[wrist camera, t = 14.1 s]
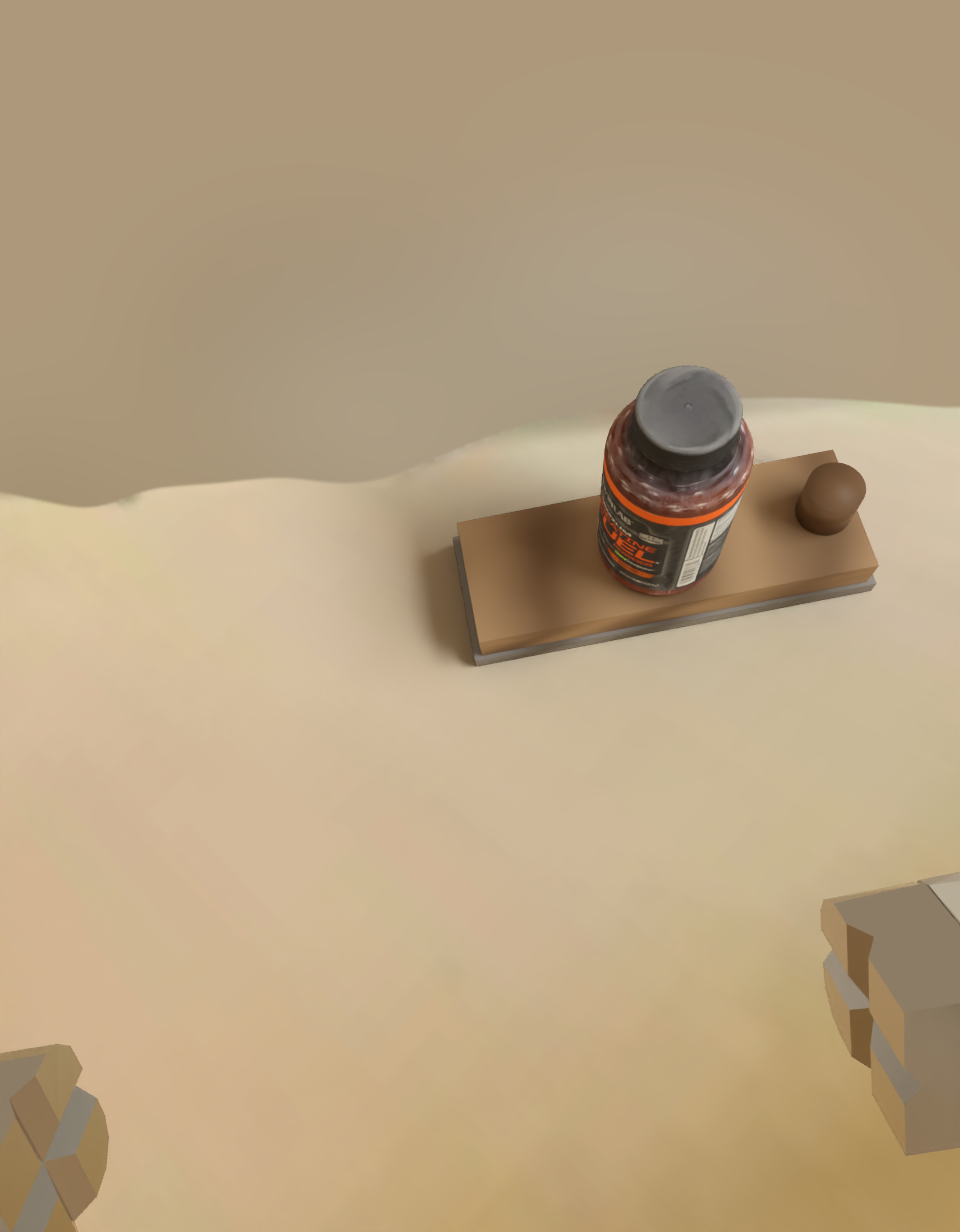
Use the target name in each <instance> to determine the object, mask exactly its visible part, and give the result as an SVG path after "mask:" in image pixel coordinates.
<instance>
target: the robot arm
mask: <svg viewBox="0 0 960 1232" xmlns="http://www.w3.org/2000/svg"><path fill="white" fill-rule="evenodd" d="M821 930H822V932H823V934H824V935H825V937H826V939H827V940H828V942H829V944H830V946H831V947H832V951H831V952H830V954H829V955H828V956H827V958H826V959H825V961H824V962H823V968H824V979H825V989H826V993H827V997H828V1001H829V1004H830V1008H831V1012H832V1016H833V1018H834V1021H835V1023H836V1025H837V1028H838V1030H839V1033H840V1035H841V1037H842V1039H843V1041H844V1043H845V1045H846V1047H847V1049H848V1051H849V1053H850V1054H851V1056H852V1057H853V1058H855V1059H856V1060H858V1061H859V1062H861V1063H863V1064H864V1065H866V1066H867V1067H869V1068H871V1077H872V1095H873V1097H874V1099H875V1101H876V1103H877V1104H878V1106H879V1108H880V1110H881V1112H882V1114H883V1115H884V1117H885V1119H886V1121H887V1123H888V1124H889V1126H890V1128H891V1130H892V1132H893V1134H894V1135H895V1137H896V1139H897V1141H898V1143H899V1144H900V1146H901V1148H902V1150H903V1152H904V1154H905V1155H906V1156H908V1155H915V1154H921V1153H928V1152H934V1151H941V1150H948V1149H954V1148H960V872H957V873H953V874H948V875H943V876H938V877H933V878H928V879H923V880H918V881H917V883H916V882H911V883H906V884H901V885H896V886H891V887H886V888H880V889H875V890H870V891H865V892H860V893H855V894H850V895H845V896H840V897H835V898H830V899H825V900H823V903H822V907H821ZM81 1071H82V1066H81V1065H80V1063H79V1061H78V1059H77V1057H76V1055H75V1054H74V1052H73V1050H72V1048H71V1046H67V1045H61V1044H54V1045H48V1046H42V1047H36V1048H30V1049H24V1050H17V1051H11V1052H5V1053H0V1232H78V1230H77V1228H76V1225H75V1222H74V1221H75V1220H76V1219H77V1217H78V1216H79V1215H80V1214H81V1213H82V1212H83V1211H84V1210H85V1209H86V1208H87V1207H88V1205H89V1204H90V1203H91V1202H92V1201H93V1200H94V1199H95V1198H96V1197H97V1194H98V1191H99V1188H100V1185H101V1182H102V1179H103V1176H104V1173H105V1170H106V1164H107V1153H108V1141H109V1136H108V1130H107V1125H106V1119H105V1115H104V1112H103V1110H102V1108H101V1106H100V1104H99V1102H98V1099H97V1098H96V1097H94V1096H92V1095H90V1094H89V1093H87V1092H85V1091H84V1090H82V1089H80V1088H79V1087H77V1086H76V1083H77V1081H78V1078H79V1076H80V1073H81Z"/></svg>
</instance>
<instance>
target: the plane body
mask: <svg viewBox="0 0 960 1232" xmlns="http://www.w3.org/2000/svg"><path fill="white" fill-rule="evenodd" d="M865 494H866V484H865V481H864V479H863V477H862V476H861V474H860V473H859V472H858V471H857V470H855V469H854V468H852V467H851V466H849V465H846V464H843V463H838V461H837V458H836V456H835V453H834V451H833V450H828V451H823V452H818V453H813V454H808V455H803V456H798V457H792V458H787V459H782V460H777V461H772V462H767V463H762V464H757V465H752V469H751V473H750V476H749V479H748V482H747V485H746V487H745V490H744V492H743V495H742V498H741V500H740V503H739V505H738V508H737V511H736V514H735V516H734V519H733V521H732V524H731V527H730V529H729V532H728V534H727V537H726V540H725V542H724V545H723V547H722V550H721V553H720V555H719V557H718V560H717V562H716V564H715V566H714V567H713V569H712V570H711V572H710V573H709V574H708V575H707V577H706V578H705V579H704V580H702V581H701V582H700V583H699V584H697V585H696V586H694V587H692V588H690V589H688V590H686V591H683V592H680V593H676V594H672V595H663V596H655V595H652V594H645V593H641V592H638V591H635V590H633V589H631V588H629V587H627V586H625V585H624V584H622V583H621V582H620V581H618V580H617V579H615V577H614V576H613V575H612V574H611V573H610V572H609V570H608V569H607V567H606V566H605V564H604V562H603V560H602V558H601V555H600V552H599V548H598V537H597V532H598V530H597V529H598V519H599V516H598V515H599V507H600V495H598V496H592V497H587V498H582V499H577V500H572V501H567V502H562V503H556V504H551V505H546V506H541V507H536V508H531V509H526V510H521V511H515V512H510V513H505V514H500V515H495V516H490V517H485V518H480V519H474V520H469V521H464V522H459V523H457V526H458V532H459V537H454V538H453V542H454V548H455V554H456V559H457V565H458V570H459V576H460V581H461V587H462V592H463V598H464V603H465V609H466V614H467V620H468V625H469V631H470V637H471V642H472V648H473V653H474V659H475V663H476V666H482V665H487V664H492V663H497V662H502V661H508V660H513V659H518V658H523V657H528V656H534V655H539V654H544V653H549V652H554V651H559V650H565V649H570V648H575V647H580V646H585V645H591V644H596V643H601V642H606V641H611V640H617V639H622V638H627V637H632V636H637V635H643V634H648V633H653V632H658V631H663V630H668V629H674V628H679V627H684V626H689V625H694V624H700V623H705V622H710V621H715V620H720V619H726V618H731V617H736V616H741V615H746V614H752V613H757V612H762V611H767V610H772V609H778V608H783V607H788V606H793V605H798V604H803V603H809V602H814V601H819V600H824V599H829V598H835V597H840V596H845V595H850V594H855V593H861V592H866V591H871V590H872V589H873V587H874V586H875V585H876V582H875V579H874V577H873V573H874V571H875V570H876V569H877V567H878V566H879V565H878V562H877V560H876V557H875V555H874V552H873V550H872V547H871V545H870V542H869V539H868V537H867V534H866V532H865V529H864V527H863V524H862V522H861V519H860V517H859V514H858V512H857V509H858V507H859V505H860V504H861V502H862V500H863V499H864V497H865Z"/></svg>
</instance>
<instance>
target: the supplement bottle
mask: <svg viewBox="0 0 960 1232" xmlns="http://www.w3.org/2000/svg"><path fill="white" fill-rule="evenodd" d="M742 416H743V408H742V403H741V400H740V396H739V394H738V392H737V391H736V389H735V387H734V386H733V385H732V384H731V383H730V382H729V381H728V380H727V379H726V378H725V377H724V376H722V375H720V374H718V373H716V372H715V371H713V370H710V369H707V368H704V367H698V366H689V365H688V366H677V367H672V368H669V369H665V370H663V371H661V372H659V373H657V374H655V375H654V376H653V377H651V378H650V379H649V380H648V381H647V382H646V383H645V384H644V386H643V387H642V388H641V390H640V391H639V394H638V396H637V398H636V399H635V400H634V401H632V402H631V403H630V404H629V405H627V406H626V407H625V408H624V409H623V410H622V411H621V413H620V414H619V415H618V416H617V418H616V419H615V421H614V423H613V424H612V426H611V428H610V430H609V434H608V437H607V440H606V444H605V451H604V462H603V473H602V482H601V483H602V485H601V495H600V507H599V515H598V516H599V519H598V529H597V530H598V532H597V537H598V548H599V552H600V555H601V558H602V560H603V562H604V564H605V566H606V567H607V569H608V570H609V572H610V573H611V574H612V575H613V576H614V577H615V579H617V580H618V581H620V582H621V583H622V584H624V585H625V586H627V587H629V588H631V589H633V590H635V591H638V592H641V593H645V594H652V595H655V596H663V595H672V594H676V593H680V592H683V591H686V590H688V589H690V588H692V587H694V586H696V585H697V584H699V583H700V582H701V581H702V580H704V579H705V578H706V577H707V575H708V574H709V573H710V572H711V570H712V569H713V567H714V566H715V564H716V562H717V560H718V557H719V555H720V553H721V550H722V547H723V545H724V542H725V540H726V537H727V534H728V532H729V529H730V527H731V524H732V521H733V519H734V516H735V514H736V511H737V508H738V505H739V503H740V500H741V498H742V495H743V492H744V490H745V487H746V485H747V482H748V479H749V476H750V473H751V469H752V465H753V459H754V447H753V439H752V435H751V433H750V430H749V428H748V426H747V424H746V423H745V421H744V419H743V418H742Z"/></svg>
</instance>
